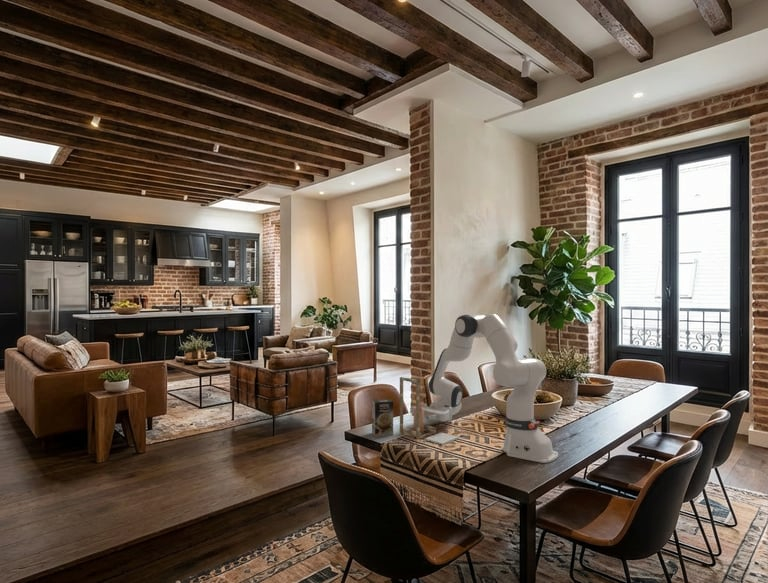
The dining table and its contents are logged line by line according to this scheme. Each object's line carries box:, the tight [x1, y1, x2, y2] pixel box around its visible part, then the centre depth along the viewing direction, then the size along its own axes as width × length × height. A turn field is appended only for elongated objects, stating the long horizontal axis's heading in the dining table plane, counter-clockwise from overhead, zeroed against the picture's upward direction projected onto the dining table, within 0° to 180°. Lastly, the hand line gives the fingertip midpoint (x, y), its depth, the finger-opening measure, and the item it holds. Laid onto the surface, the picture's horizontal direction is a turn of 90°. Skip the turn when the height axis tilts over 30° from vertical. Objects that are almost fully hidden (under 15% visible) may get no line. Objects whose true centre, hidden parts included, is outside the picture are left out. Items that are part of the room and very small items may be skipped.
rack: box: [399, 376, 437, 440], centre depth 221 cm, size 11×14×27 cm
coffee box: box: [371, 398, 394, 438], centre depth 220 cm, size 9×6×16 cm
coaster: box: [424, 432, 459, 446], centre depth 212 cm, size 10×12×1 cm
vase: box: [413, 402, 425, 435], centre depth 222 cm, size 5×5×14 cm
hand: (420, 416), depth 222 cm, fingers open, 8 cm apart
